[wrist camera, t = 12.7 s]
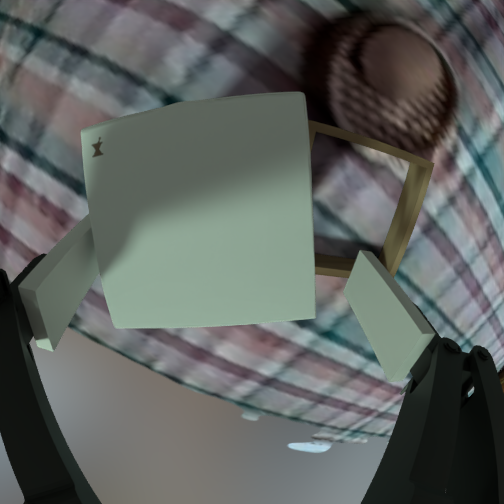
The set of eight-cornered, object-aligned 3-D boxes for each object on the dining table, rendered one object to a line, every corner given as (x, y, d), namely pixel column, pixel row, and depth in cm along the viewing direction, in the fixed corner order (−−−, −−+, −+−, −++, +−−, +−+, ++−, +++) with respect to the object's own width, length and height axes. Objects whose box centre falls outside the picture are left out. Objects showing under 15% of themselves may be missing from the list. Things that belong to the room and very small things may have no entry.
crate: (299, 118, 24) (308, 119, 21) (417, 157, 26) (434, 163, 23) (268, 254, 30) (272, 268, 27) (379, 269, 32) (391, 282, 29)
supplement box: (184, 250, 26) (107, 334, 11) (172, 150, 24) (72, 125, 9) (286, 242, 26) (320, 326, 11) (278, 138, 23) (307, 85, 9)
